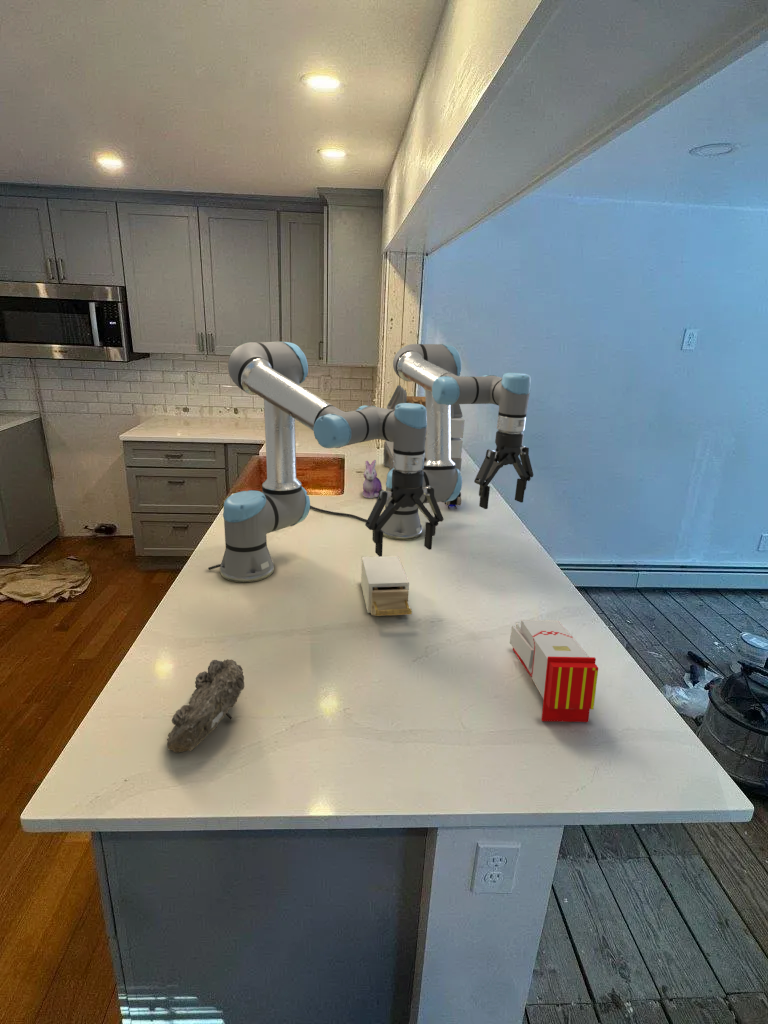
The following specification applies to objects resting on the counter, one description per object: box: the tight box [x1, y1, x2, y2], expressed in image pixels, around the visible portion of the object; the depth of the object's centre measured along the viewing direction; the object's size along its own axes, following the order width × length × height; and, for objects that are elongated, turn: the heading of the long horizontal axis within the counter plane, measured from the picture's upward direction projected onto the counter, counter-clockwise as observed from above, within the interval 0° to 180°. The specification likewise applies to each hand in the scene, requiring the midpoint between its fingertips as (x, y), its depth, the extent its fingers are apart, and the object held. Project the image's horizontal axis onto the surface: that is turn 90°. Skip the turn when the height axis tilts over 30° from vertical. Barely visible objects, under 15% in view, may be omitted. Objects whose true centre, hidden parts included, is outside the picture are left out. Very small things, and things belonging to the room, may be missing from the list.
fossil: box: [166, 658, 245, 754], centre depth 106 cm, size 22×10×15 cm
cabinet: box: [360, 555, 410, 614], centre depth 154 cm, size 17×10×9 cm, turn 8°
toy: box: [509, 619, 599, 723], centre depth 122 cm, size 12×13×30 cm
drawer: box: [370, 586, 413, 617], centre depth 148 cm, size 21×9×6 cm, turn 8°
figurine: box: [361, 459, 383, 499], centre depth 237 cm, size 9×10×15 cm
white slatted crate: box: [383, 384, 465, 474], centre depth 268 cm, size 34×33×41 cm
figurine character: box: [444, 491, 462, 510], centre depth 230 cm, size 7×8×15 cm
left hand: (403, 551), depth 143 cm, fingers open, 13 cm apart
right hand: (501, 504), depth 163 cm, fingers open, 13 cm apart
